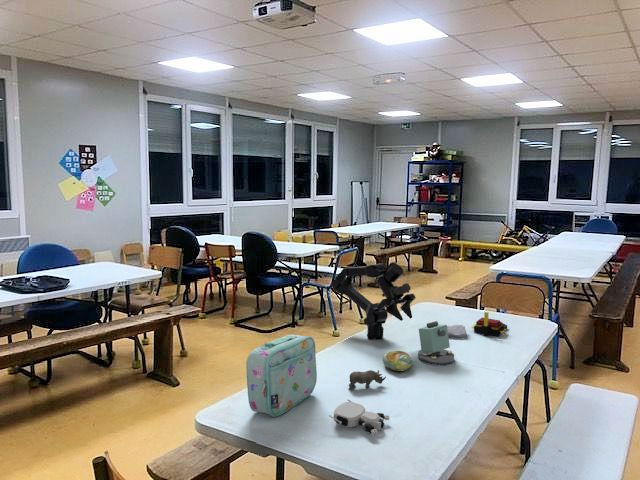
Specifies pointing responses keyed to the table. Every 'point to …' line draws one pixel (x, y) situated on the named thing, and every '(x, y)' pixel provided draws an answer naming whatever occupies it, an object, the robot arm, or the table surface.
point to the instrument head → (434, 337)
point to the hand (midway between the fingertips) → (406, 319)
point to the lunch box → (281, 374)
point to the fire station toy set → (489, 326)
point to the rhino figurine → (365, 378)
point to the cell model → (397, 360)
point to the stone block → (457, 331)
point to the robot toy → (358, 417)
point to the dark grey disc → (436, 357)
